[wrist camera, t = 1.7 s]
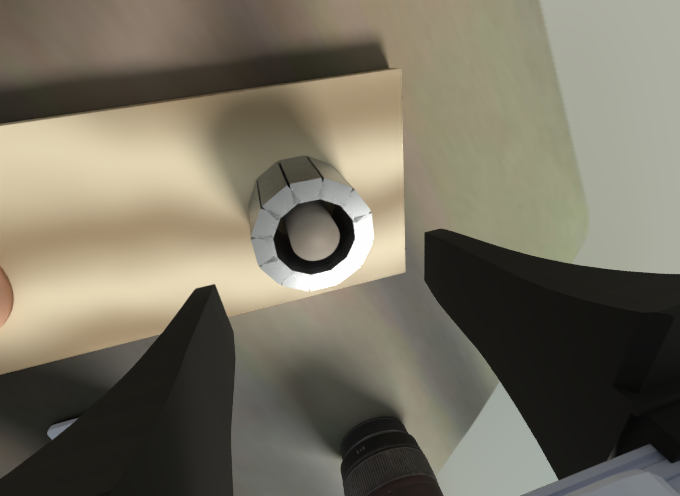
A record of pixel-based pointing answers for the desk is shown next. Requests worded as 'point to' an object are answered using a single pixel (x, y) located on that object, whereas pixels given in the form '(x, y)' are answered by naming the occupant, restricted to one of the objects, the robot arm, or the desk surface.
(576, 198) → the desk surface
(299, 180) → the collar
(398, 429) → the camera lens
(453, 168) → the desk surface
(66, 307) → the stand board
